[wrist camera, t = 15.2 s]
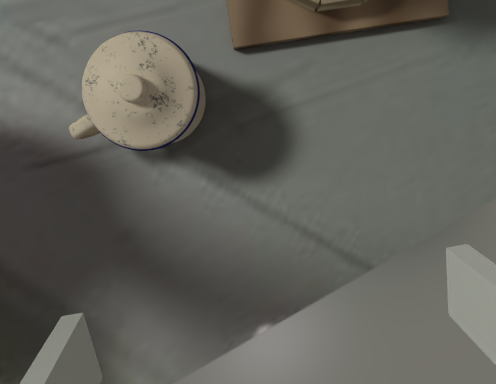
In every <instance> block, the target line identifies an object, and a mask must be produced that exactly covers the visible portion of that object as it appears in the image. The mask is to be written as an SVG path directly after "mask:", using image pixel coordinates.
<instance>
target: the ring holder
mask: <svg viewBox="0 0 496 384" xmlns="http://www.w3.org/2000/svg"><path fill="white" fill-rule="evenodd" d="M227 5H228V12H229V18H230V25H231V32H232V39H233V46H234V50H236V49H243V48H249V47H256V46H263V45H269V44H276V43H282V42H289V41H295V40H302V39H308V38H315V37H322V36H328V35H335V34H341V33H348V32H354V31H361V30H367V29H374V28H381V27H387V26H394V25H400V24H407V23H413V22H420V21H426V20H433V19H440V18H444V17H446V16H448V15H449V3H448V0H227Z"/></svg>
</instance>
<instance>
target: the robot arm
mask: <svg viewBox="0 0 496 384" xmlns="http://www.w3.org/2000/svg"><path fill="white" fill-rule="evenodd" d="M446 257H447V286H448V312H449V313H448V314H449V316H450V317H451V318H452V319H453V320H454V321H455V322H456V323H457V324H458V325H459V326H460V327H461V328H462V330H463V331H464V332H465V333H466V334H467V335H468V336H469V337H470V338H471V339H472V340H473V341H474V342H475V344H476V345H478V347H479V348H480V349H481V350H482V351H483V352H484V353H485V354H486V355H487V356H488V358H489V359H490V360H491V361H492V362H493V363H494V364H495V365H496V265H495V264H494V263H493V262H491V261H490V260H488V259H487V258H486V257H484V256H483V255H482V254H480V253H479V252H477V251H476V250H474V249H473V248H472V247H470V246H469V245H468V244H465V245H459V246H454V247H448V248H446ZM102 378H103V376H102V373H101V370H100V366H99V363H98V360H97V356H96V353H95V350H94V347H93V343H92V340H91V337H90V334H89V330H88V327H87V324H86V320H85V317H84V314H83V313H77V314H72V315H66V316H61V318H60V320H59V321H58V323H57V324H56V326H55V328H54V329H53V331H52V332H51V334H50V336H49V337H48V339H47V340H46V342H45V344H44V345H43V347H42V349H41V350H40V352H39V353H38V355H37V357H36V358H35V360H34V361H33V363H32V365H31V366H30V368H29V369H28V371H27V373H26V374H25V376H24V377H23V379H22V381H21V382H20V384H100V383H101V381H102Z"/></svg>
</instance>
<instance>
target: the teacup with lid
mask: <svg viewBox="0 0 496 384" xmlns="http://www.w3.org/2000/svg"><path fill="white" fill-rule="evenodd" d="M82 96H83V102H84V106H85V109H86V112H87V115H85V116H83V117H81V118H80V119H78V120H76V121H75V122H74V123H72V124H71V125H70V127H69V132H70V133H71V135H72V137H73V138H74V139H84V138H88V137H91V136H94V135H97V134H99V133H101V134H102V135H103V136H104V137H106V138H107V139H108V140H110V141H111V142H113V143H115V144H117V145H119V146H121V147H124V148H127V149H131V150H138V151H148V150H155V149H159V148H162V147H165V146H167V145H169V144H171V143H175V142H178V141H180V140H182V139H184V138H186V137H187V136H188V135H190V134H191V133H192V132H193V131H194V130H195V129H196V127H197V126H198V125H199V123H200V121H201V119H202V117H203V114H204V111H205V105H206V95H205V89H204V85H203V82H202V80H201V78H200V76H199V74H198V73H197V72H196V70H195V68H194V65H193V64H192V62H191V60H190V59H189V57H188V56H187V54H186V53H185V52H184V51H183V50H182V49H181V48H180V47H179V46H178V45H177V44H176V43H174V42H173V41H171V40H170V39H168V38H166V37H164V36H162V35H159V34H157V33H153V32H148V31H129V32H125V33H121V34H118V35H116V36H114V37H112V38H110V39H109V40H107V41H106V42H104V43H103V44H102V45H101V46H100V47H99V48H98V49H97V50H96V51H95V52H94V53H93V55H92V56H91V58H90V59H89V61H88V63H87V66H86V68H85V71H84V75H83V80H82Z"/></svg>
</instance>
